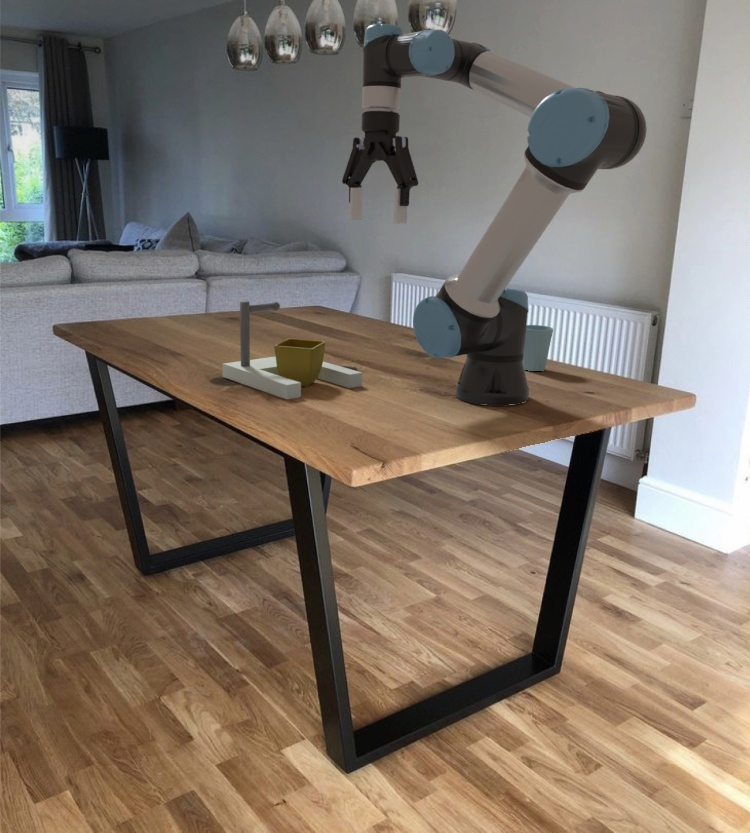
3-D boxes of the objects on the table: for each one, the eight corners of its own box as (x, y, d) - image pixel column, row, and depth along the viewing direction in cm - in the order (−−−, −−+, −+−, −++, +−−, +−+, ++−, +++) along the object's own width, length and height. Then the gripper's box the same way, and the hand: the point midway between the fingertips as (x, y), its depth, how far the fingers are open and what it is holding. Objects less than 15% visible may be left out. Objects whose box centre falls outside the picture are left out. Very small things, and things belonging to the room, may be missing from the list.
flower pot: (312, 390, 169) (312, 348, 166) (273, 386, 171) (273, 344, 169) (325, 381, 177) (326, 341, 175) (288, 377, 179) (288, 338, 177)
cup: (537, 374, 191) (541, 331, 188) (511, 369, 196) (514, 326, 193) (555, 370, 196) (559, 328, 193) (529, 365, 201) (532, 324, 198)
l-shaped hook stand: (361, 386, 174) (364, 307, 169) (286, 399, 161) (287, 315, 156) (295, 366, 191) (296, 294, 186) (222, 376, 178) (221, 300, 173)
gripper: (439, 110, 153) (433, 224, 159) (354, 115, 170) (351, 218, 176) (411, 106, 148) (406, 224, 154) (326, 112, 166) (325, 218, 171)
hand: (377, 221), depth 165 cm, fingers open, 13 cm apart
